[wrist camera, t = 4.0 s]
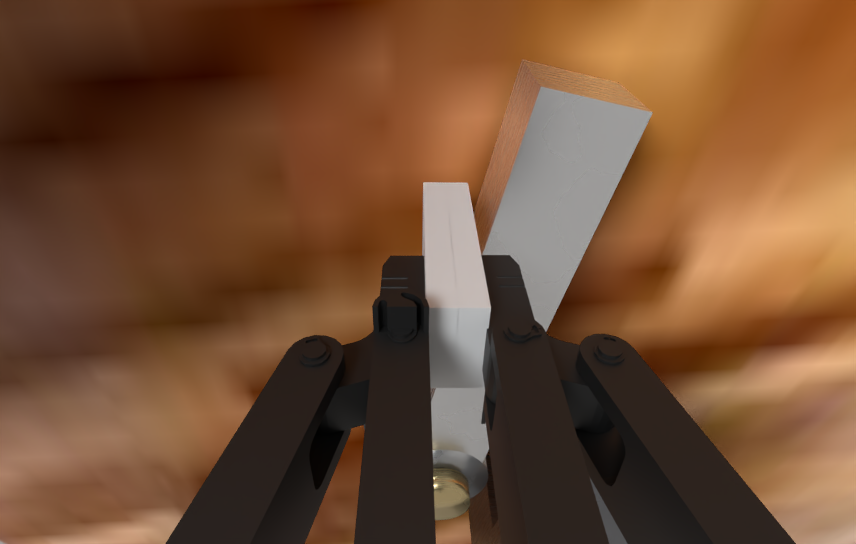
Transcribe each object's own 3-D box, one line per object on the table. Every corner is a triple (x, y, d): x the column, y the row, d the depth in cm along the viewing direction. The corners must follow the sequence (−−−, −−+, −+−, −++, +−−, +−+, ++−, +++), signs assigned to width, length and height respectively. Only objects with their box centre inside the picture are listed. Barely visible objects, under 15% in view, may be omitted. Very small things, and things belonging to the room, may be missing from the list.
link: (465, 465, 30) (470, 515, 27) (383, 456, 29) (381, 506, 27) (638, 86, 17) (674, 117, 15) (501, 54, 16) (516, 80, 14)
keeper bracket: (348, 476, 31) (337, 578, 27) (378, 349, 25) (370, 453, 20) (584, 501, 34) (611, 599, 29) (665, 391, 27) (717, 492, 23)
